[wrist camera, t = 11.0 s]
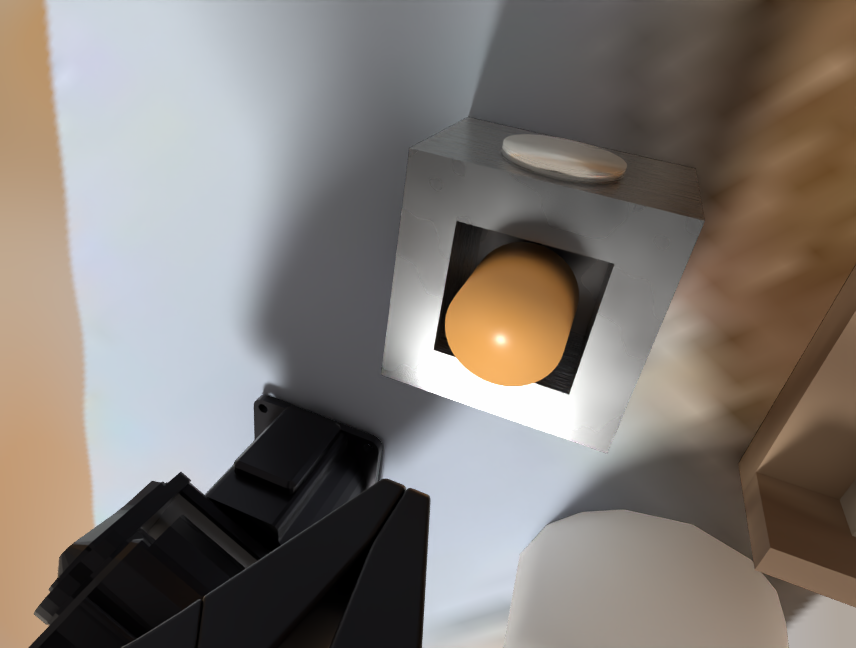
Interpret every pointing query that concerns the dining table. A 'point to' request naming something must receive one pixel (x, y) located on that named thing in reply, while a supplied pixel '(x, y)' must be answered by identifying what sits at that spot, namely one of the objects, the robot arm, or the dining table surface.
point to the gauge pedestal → (561, 232)
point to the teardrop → (639, 588)
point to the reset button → (513, 315)
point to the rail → (809, 465)
